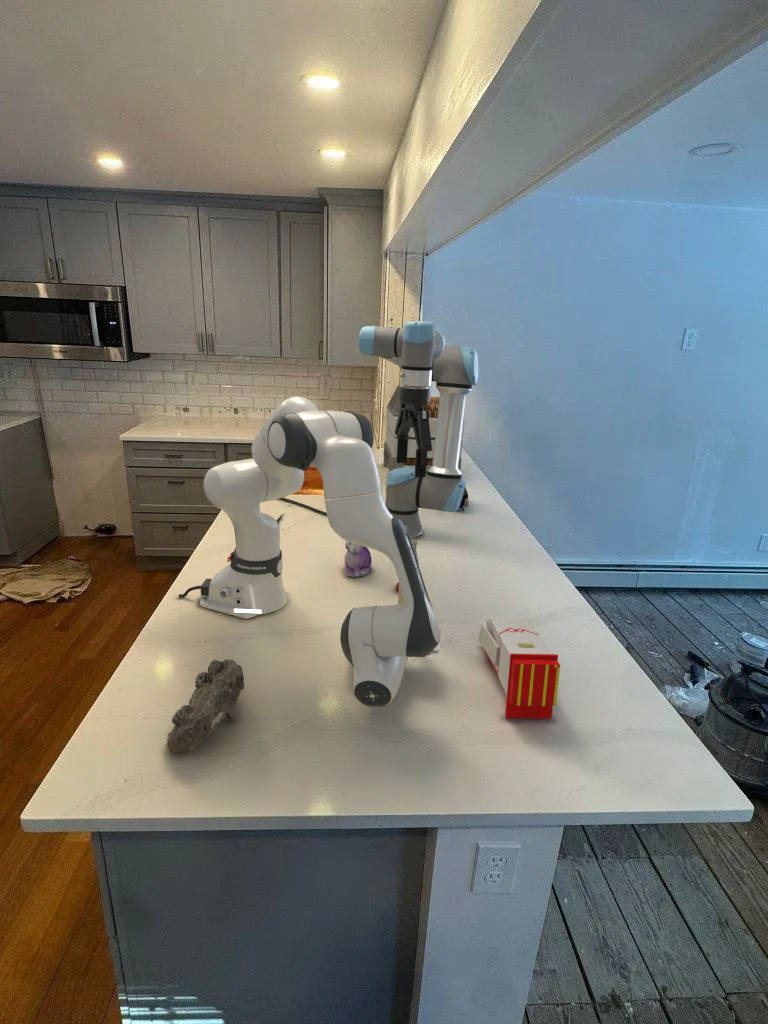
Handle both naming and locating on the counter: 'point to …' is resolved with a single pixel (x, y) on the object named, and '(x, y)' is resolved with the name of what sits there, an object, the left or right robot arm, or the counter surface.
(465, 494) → the figurine character
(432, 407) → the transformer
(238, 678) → the fossil
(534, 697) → the toy
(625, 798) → the counter surface
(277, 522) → the feather
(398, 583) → the cap
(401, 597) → the bottle
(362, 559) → the figurine
